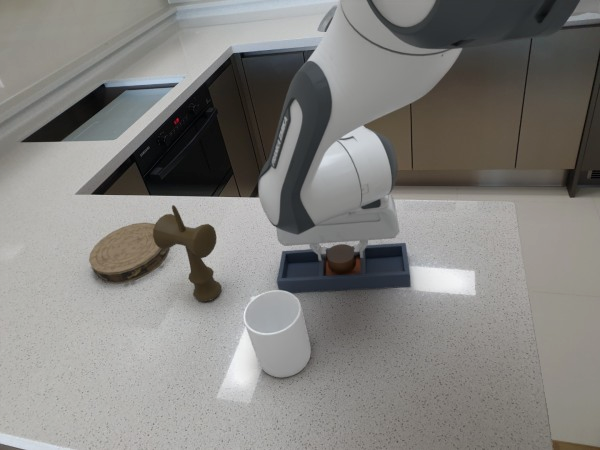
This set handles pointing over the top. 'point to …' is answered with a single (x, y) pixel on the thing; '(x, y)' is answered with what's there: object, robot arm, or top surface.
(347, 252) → the cylinder
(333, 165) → the robot arm
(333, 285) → the grid
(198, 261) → the kendama
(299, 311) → the mug
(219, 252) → the top surface
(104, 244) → the wood slice coaster
